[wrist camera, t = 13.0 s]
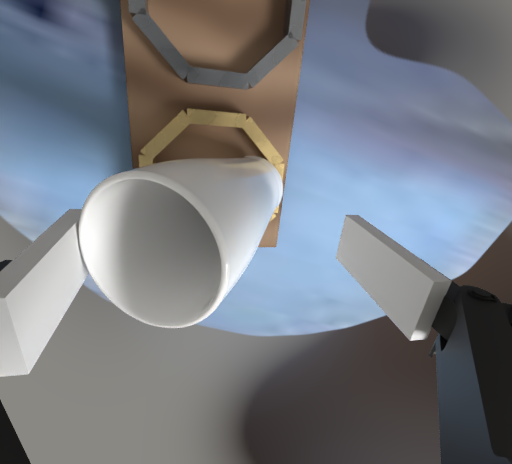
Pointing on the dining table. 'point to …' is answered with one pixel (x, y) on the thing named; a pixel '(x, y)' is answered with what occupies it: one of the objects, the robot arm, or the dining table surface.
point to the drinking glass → (177, 234)
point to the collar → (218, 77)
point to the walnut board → (210, 97)
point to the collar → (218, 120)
